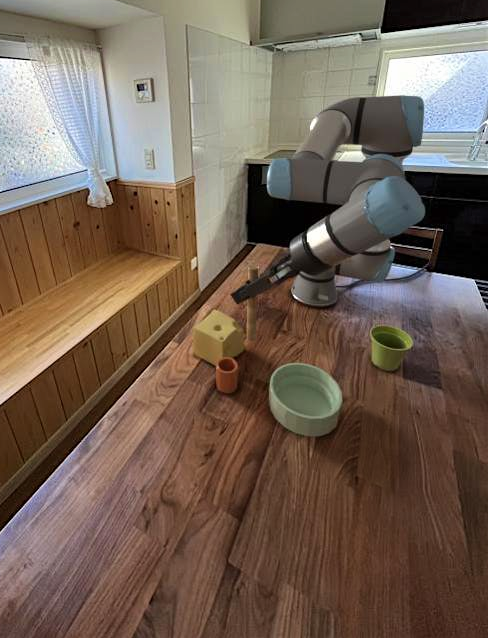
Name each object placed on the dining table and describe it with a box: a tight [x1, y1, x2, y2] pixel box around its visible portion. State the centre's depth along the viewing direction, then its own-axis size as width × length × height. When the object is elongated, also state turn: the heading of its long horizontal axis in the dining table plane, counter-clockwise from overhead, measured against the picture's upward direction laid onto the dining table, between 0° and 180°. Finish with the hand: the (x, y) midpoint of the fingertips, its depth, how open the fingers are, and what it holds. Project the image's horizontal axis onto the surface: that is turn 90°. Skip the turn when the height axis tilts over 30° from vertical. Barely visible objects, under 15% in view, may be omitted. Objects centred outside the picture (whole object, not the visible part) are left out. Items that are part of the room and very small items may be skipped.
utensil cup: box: [215, 357, 239, 394], centre depth 82 cm, size 5×5×7 cm
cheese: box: [192, 309, 246, 367], centre depth 92 cm, size 10×11×10 cm
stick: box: [246, 264, 259, 342], centre depth 72 cm, size 2×2×18 cm
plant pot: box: [369, 324, 414, 372], centre depth 86 cm, size 9×9×9 cm
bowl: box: [268, 362, 343, 437], centre depth 76 cm, size 15×15×6 cm
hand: (238, 296), depth 74 cm, fingers closed on stick, 2 cm apart
